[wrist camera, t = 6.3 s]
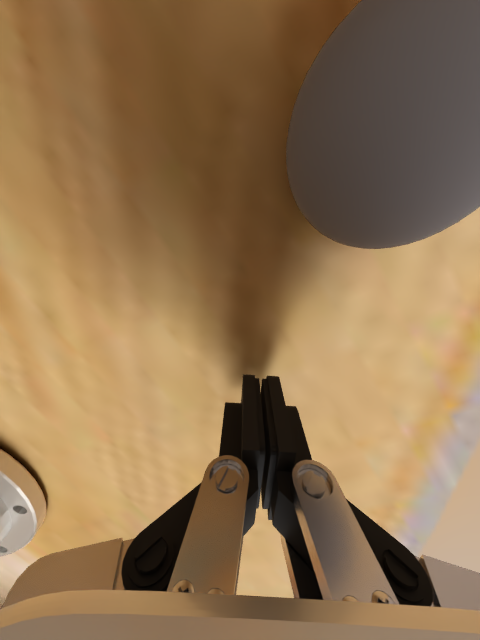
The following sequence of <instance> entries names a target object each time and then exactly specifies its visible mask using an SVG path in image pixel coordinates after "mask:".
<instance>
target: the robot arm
mask: <svg viewBox="0 0 480 640" xmlns="http://www.w3.org/2000/svg"><path fill="white" fill-rule="evenodd" d="M260 492H261V495H262V508H263V509H268V520H272V523H273V526H274V527H275V528H276V529H277V530H278V531H279V532H280V533H281V542H282V547H283V551H284V555H285V560H286V564H287V568H288V572H289V577H290V581H291V585H292V589H293V594H294V598H279V597H261V596H243V595H236V591H237V583H238V575H239V567H240V560H241V552H242V544H243V536H244V535H245V534H246V533H247V531H248V530H249V529H250V528H251V527H252V526H253V524H254V521H255V513H256V508H258V507H259V500H260ZM45 516H46V501H45V498H44V495H43V492H42V490H41V488H40V486H39V485H38V483H37V481H36V480H35V478H34V477H33V476H32V475H31V474H30V473H29V472H28V471H27V469H26V468H25V467H24V466H23V465H21V464H20V463H19V462H18V461H17V460H15V459H14V458H13V457H12V456H11V455H9V454H8V453H6V452H5V451H3V450H2V449H0V556H4V555H8V554H11V553H13V552H15V551H17V550H19V549H21V548H23V547H25V546H26V545H27V544H28V543H29V542H30V541H31V540H32V539H33V537H34V536H35V534H36V533H37V531H38V530H39V528H40V527H41V526H42V524H43V522H44V519H45ZM0 640H480V573H477V572H474V571H471V570H468V569H465V568H462V567H459V566H456V565H453V564H450V563H446V562H443V561H440V560H437V559H434V558H431V557H428V556H425V555H422V556H421V557H420V558H419V557H416V556H414V555H413V554H412V553H411V552H410V551H409V550H408V549H407V548H406V547H405V546H403V545H402V544H401V543H400V542H398V541H397V540H396V539H395V538H394V537H392V536H391V535H390V534H389V533H387V532H386V531H385V530H384V529H382V528H381V527H380V526H379V525H378V524H376V523H375V522H374V521H373V520H371V519H370V518H369V517H368V516H366V515H365V514H364V513H363V512H362V511H360V510H359V509H358V508H357V507H355V506H354V505H353V504H352V503H350V502H349V501H348V500H347V499H346V498H345V496H344V494H343V492H342V490H341V488H340V486H339V484H338V482H337V480H336V478H335V477H334V475H333V474H332V472H331V471H330V470H329V469H328V468H327V467H326V466H324V465H323V464H321V463H319V462H317V461H314V460H312V458H311V455H310V451H309V448H308V444H307V441H306V437H305V434H304V431H303V427H302V424H301V420H300V417H299V413H298V410H297V408H296V406H286V405H285V401H284V396H283V392H282V388H281V383H280V379H279V377H278V376H267V377H266V379H262V386H261V393H260V383H259V378H255V375H244V374H243V384H242V399H241V403H226V402H225V409H224V418H223V427H222V435H221V444H220V453H219V457H217V458H216V459H214V460H213V461H212V462H211V463H210V464H209V465H208V467H207V469H206V471H205V474H204V477H203V480H202V482H201V483H200V484H199V485H198V486H197V487H195V488H194V489H193V490H192V491H190V492H189V493H188V494H187V495H186V496H184V497H183V498H182V499H181V500H180V501H178V502H177V503H176V504H175V505H173V506H172V507H171V508H170V509H169V510H167V511H166V512H165V513H164V514H162V515H161V516H160V517H159V518H158V519H156V520H155V521H154V522H153V523H151V524H150V525H149V526H148V527H147V528H145V529H144V530H143V531H142V532H141V533H140V534H139V535H138V536H137V537H136V538H135V539H130V540H126V541H123V538H119V539H114V540H110V541H105V542H101V543H96V544H92V545H88V546H83V547H79V548H74V549H70V550H65V551H61V552H56V553H52V554H49V555H47V556H44V557H42V558H40V559H38V560H37V561H36V562H34V563H33V564H32V565H30V566H29V567H28V568H27V569H26V570H25V571H24V572H23V573H22V574H21V575H20V576H19V578H18V579H17V580H16V582H15V583H14V585H13V587H12V588H11V590H10V592H9V593H8V595H7V598H6V600H5V602H4V604H3V606H2V608H1V609H0Z"/></svg>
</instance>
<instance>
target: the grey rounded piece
mask: <svg viewBox="0 0 480 640" xmlns="http://www.w3.org/2000/svg"><path fill="white" fill-rule="evenodd" d="M286 164H287V174H288V179H289V184H290V188H291V191H292V194H293V197H294V199H295V201H296V203H297V205H298V207H299V209H300V211H301V212H302V214H303V215H304V217H305V218H306V219H307V220H308V221H309V223H310V224H311V225H312V226H313V227H314V228H315V229H317V230H318V231H319V232H320V233H322V234H323V235H325V236H327V237H328V238H330V239H332V240H334V241H336V242H338V243H341V244H344V245H347V246H352V247H358V248H367V249H381V248H391V247H397V246H401V245H406V244H410V243H413V242H416V241H419V240H422V239H425V238H427V237H429V236H432V235H434V234H436V233H439V232H441V231H443V230H444V229H446V228H448V227H450V226H452V225H453V224H455V223H457V222H459V221H460V220H461V219H463V218H464V217H466V216H467V215H469V214H470V213H472V212H473V211H475V210H476V209H477V208H478V207H480V0H362V1H361V2H360V3H358V4H357V5H356V7H355V8H354V9H353V10H352V11H351V12H350V13H349V14H348V15H347V16H346V18H345V19H344V20H343V21H342V22H341V23H340V24H339V25H338V26H337V28H336V29H335V30H334V32H333V33H332V34H331V36H330V37H329V38H328V40H327V41H326V43H325V44H324V45H323V47H322V49H321V50H320V52H319V53H318V55H317V57H316V59H315V60H314V62H313V64H312V66H311V67H310V69H309V71H308V73H307V75H306V77H305V79H304V82H303V84H302V86H301V88H300V90H299V93H298V96H297V99H296V102H295V105H294V108H293V112H292V116H291V121H290V125H289V130H288V137H287V146H286Z"/></svg>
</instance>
